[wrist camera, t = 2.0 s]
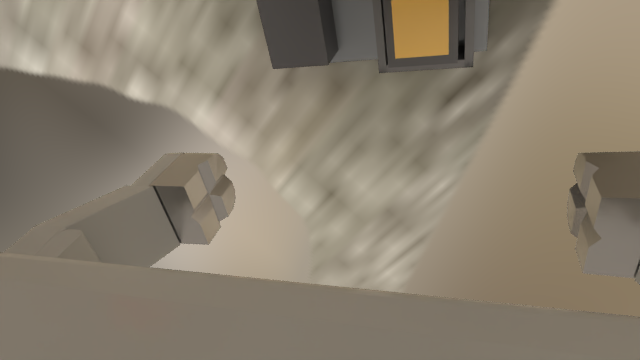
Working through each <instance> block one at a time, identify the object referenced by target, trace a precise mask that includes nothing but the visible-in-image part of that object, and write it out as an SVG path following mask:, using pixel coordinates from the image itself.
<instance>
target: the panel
mask: <svg viewBox="0 0 640 360" xmlns="http://www.w3.org/2000/svg"><path fill="white" fill-rule="evenodd" d="M256 1H257V5H258V9H259V13H260V17H261V21H262V25H263V29H264V34H265V38H266V42H267V46H268V50H269V54H270V58H271V62H272V67H273V69H280V68H293V67H307V66H321V65H329V63H332V62H345V61H358V60H372V59H378V65H379V73H386V72H402V71H417V70H433V69H448V68H464V67H473V56H474V52H478V51H487V38H488V19H489V0H459V38H458V63H452V64H437V65H422V66H408V67H393V68H388V58H387V46H386V34H385V22H384V10H383V0H256Z"/></svg>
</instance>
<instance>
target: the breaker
mask: <svg viewBox="0 0 640 360" xmlns="http://www.w3.org/2000/svg"><path fill="white" fill-rule="evenodd" d="M383 10H384V22H385V34H386V46H387V58H388V68H393V67H408V66H422V65H437V64H452V63H458V38H459V0H383Z"/></svg>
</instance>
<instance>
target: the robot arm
mask: <svg viewBox="0 0 640 360" xmlns="http://www.w3.org/2000/svg"><path fill="white" fill-rule="evenodd" d="M226 170H227V166H226V163H225V161H224V158H223V157H222V156H221V155H219V154H218V153H168V154H165V155H163V156H162V157H161V158H160V159H159V160H158V161H157V162H156V163H155V164H154V165H153V166H152V167H150V169H148V171H146V172H145V173H144V174H143V175H142V176H141V177H140V178H139V179H138V180H136V181H135V182H134V183H133V184H132V185H131V186H124V187H122V188H119V189H117V190H115V191H113V192H110V193H108V194H106V195H104V196H101V197H99V198H97V199H95V200H92V201H90V202H88V203H86V204H83V205H81V206H79V207H77V208H74V209H72V210H70V211H68V212H65V213H63V214H61V215H59V216H56V217H54V218H52V219H50V220H47V221H45V222H43V223H40V224H38V225H36V226H35V227H34V228H32V229H31V230H30V231H29V232H28V233H26V234H25V235H24V236H23V237H22V238H20V239H19V240H18V241H17V242H15V243H14V244H13V245H12V246H11V247H9V249H7V250H6V251H4V252H0V360H640V317H635V316H625V315H616V314H605V313H596V312H586V311H576V310H567V309H556V308H547V307H537V306H527V305H516V304H507V303H497V302H487V301H478V300H467V299H458V298H448V297H438V296H428V295H417V294H408V293H398V292H389V291H379V290H369V289H359V288H349V287H339V286H329V285H319V284H309V283H299V282H289V281H279V280H269V279H260V278H250V277H239V276H230V275H220V274H210V273H200V272H190V271H181V270H171V269H161V268H150V266H152V265H153V264H154V263H156V262H157V261H159V260H160V259H161V258H162V257H164V256H165V255H167V254H168V253H170V252H171V251H172V250H174V249H175V248H176V247H178V246H179V245H180V243H184V244H185V243H186V244H207V245H209V243H210V242H211V241H212V239H213V238H214V236H215V235H216V233H217V231H218V230H219V229H220V227H221V226H220V222H219V221H221V220H223V219H224V218H226V217H228V216H229V214H230V213H231V211H232V209H233V207H234V203H235V189H234V186H233V183H232V181H231V180H229V179H228V178H227V177H226V176H225V172H226ZM573 172H574V175H575V178H576V181H577V183H576V184H575V185H574V186H573V187H572V188H571V189H570V191H569V197H568V204H567V206H568V207H567V217H568V224H569V228H570V232H571V234H573V235H574V236H575V237H577V243H576V248H575V249H576V253H577V256H578V259H579V262H580V266H581V269H582V273H587V274H597V275H607V276H617V277H627V278H635V281H636V282H637V283H638V284H639V285H640V152H600V153H599V152H598V153H578V155H577V158H576V161H575V165H574V170H573Z"/></svg>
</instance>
